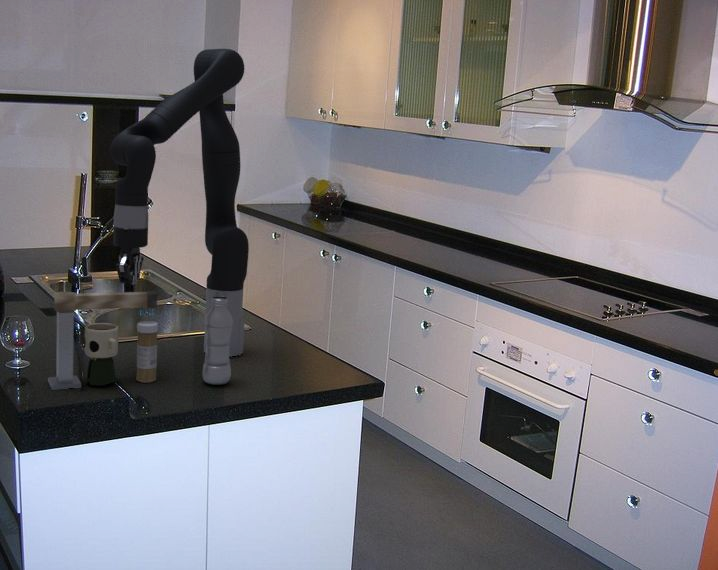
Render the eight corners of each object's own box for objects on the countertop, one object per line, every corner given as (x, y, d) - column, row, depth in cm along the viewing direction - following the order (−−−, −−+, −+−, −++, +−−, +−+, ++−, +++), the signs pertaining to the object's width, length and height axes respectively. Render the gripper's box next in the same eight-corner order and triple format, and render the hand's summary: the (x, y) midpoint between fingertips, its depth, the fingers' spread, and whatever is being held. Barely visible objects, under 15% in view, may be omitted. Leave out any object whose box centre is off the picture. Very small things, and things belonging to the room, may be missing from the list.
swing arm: (56, 312, 183) (56, 296, 182) (52, 307, 186) (53, 291, 186) (157, 308, 192) (157, 293, 192) (152, 304, 196) (153, 289, 196)
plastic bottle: (205, 388, 193) (209, 301, 189) (198, 379, 199) (202, 294, 195) (233, 387, 196) (238, 300, 192) (226, 378, 202) (230, 294, 198)
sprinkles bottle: (149, 376, 199) (150, 319, 196) (160, 381, 196) (162, 323, 193) (131, 379, 196) (133, 321, 193) (143, 384, 193) (144, 326, 190)
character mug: (73, 380, 192) (73, 323, 190) (101, 374, 197) (102, 319, 195) (99, 393, 185) (100, 334, 183) (128, 387, 190) (129, 329, 188)
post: (76, 379, 193) (77, 307, 190) (81, 387, 187) (82, 313, 184) (48, 381, 190) (48, 308, 187) (52, 390, 185) (52, 314, 182)
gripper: (123, 220, 201) (122, 293, 204) (104, 227, 188) (103, 304, 191) (155, 222, 201) (153, 295, 204) (138, 229, 188) (136, 307, 191)
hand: (129, 300), depth 198 cm, fingers closed
